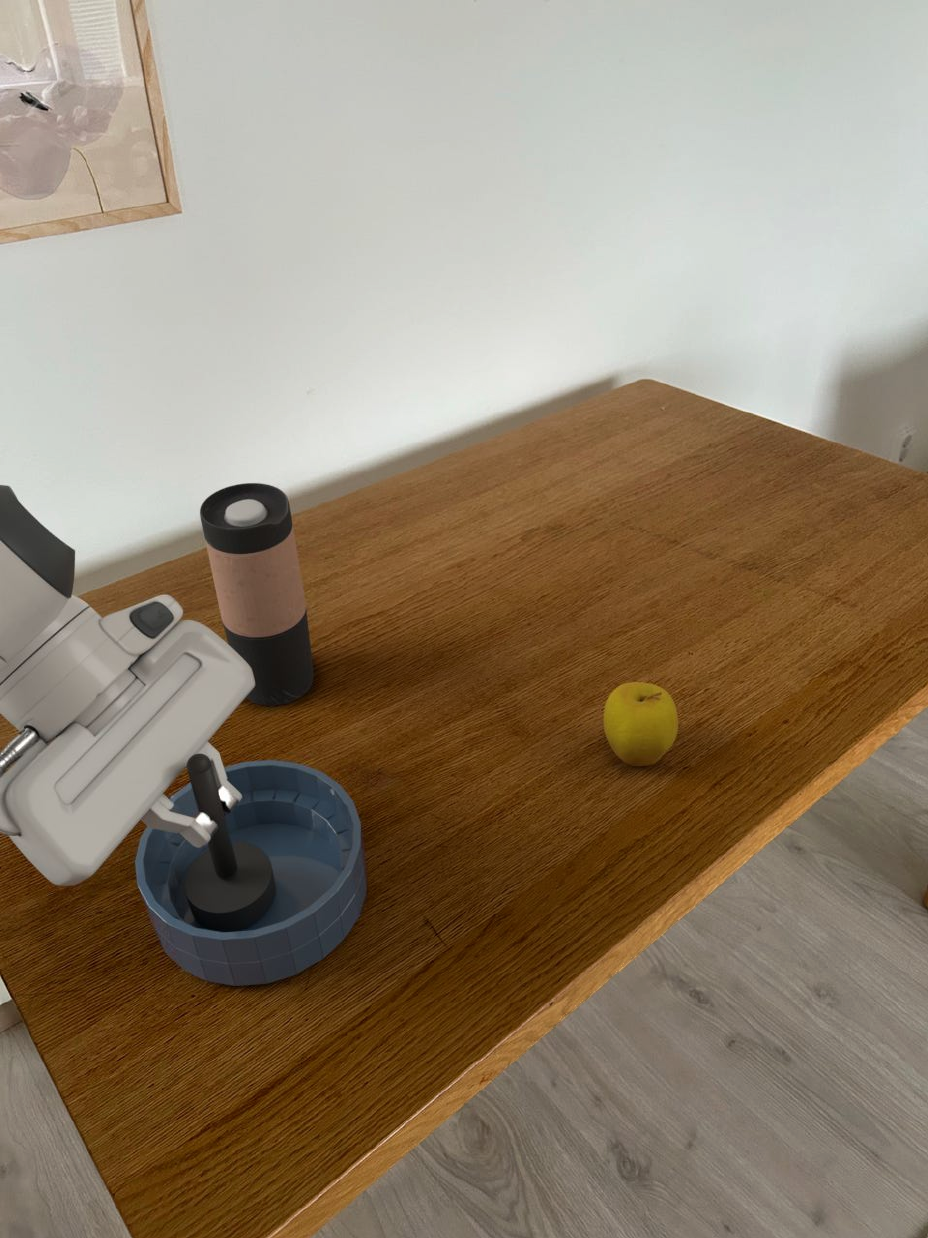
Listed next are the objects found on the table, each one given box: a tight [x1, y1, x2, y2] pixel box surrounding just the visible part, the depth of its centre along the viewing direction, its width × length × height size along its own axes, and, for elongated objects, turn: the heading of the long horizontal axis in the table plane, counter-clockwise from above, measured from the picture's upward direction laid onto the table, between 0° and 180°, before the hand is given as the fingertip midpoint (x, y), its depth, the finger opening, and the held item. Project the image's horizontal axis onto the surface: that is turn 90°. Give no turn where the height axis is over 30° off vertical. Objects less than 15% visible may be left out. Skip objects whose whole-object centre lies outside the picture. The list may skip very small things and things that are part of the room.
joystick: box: [184, 753, 276, 932], centre depth 69 cm, size 6×6×15 cm
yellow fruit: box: [603, 681, 679, 767], centre depth 84 cm, size 6×6×8 cm
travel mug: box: [199, 482, 314, 707], centre depth 89 cm, size 8×8×20 cm
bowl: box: [134, 759, 368, 987], centre depth 74 cm, size 16×16×6 cm
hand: (221, 822), depth 68 cm, fingers closed on joystick
